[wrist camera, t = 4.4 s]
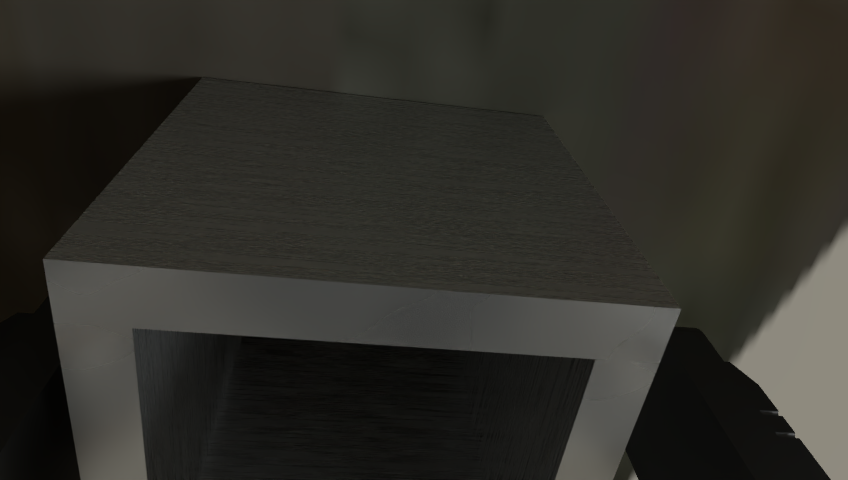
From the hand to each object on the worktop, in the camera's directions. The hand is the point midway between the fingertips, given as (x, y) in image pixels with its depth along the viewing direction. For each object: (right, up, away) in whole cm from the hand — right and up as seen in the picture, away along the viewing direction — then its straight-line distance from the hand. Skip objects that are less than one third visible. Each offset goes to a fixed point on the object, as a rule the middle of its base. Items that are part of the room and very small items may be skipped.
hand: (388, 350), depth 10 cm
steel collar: (-1, +2, +3) cm, 3 cm away
